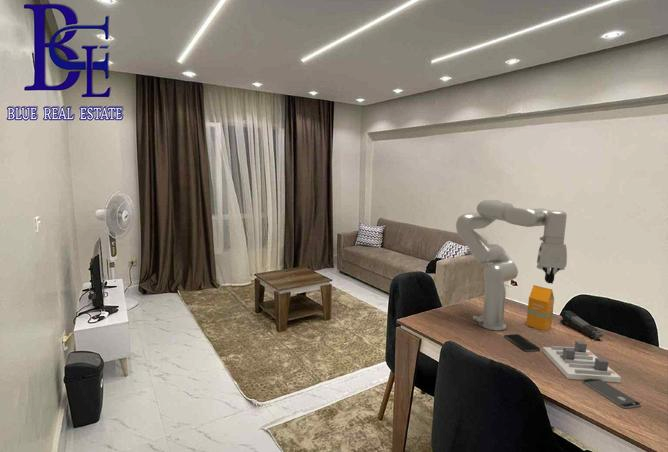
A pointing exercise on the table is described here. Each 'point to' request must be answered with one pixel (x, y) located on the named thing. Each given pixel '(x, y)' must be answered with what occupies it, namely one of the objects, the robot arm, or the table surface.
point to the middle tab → (568, 353)
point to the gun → (580, 324)
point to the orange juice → (540, 308)
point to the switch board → (579, 365)
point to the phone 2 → (611, 393)
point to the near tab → (601, 364)
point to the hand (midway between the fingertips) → (549, 282)
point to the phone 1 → (522, 343)
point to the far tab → (580, 346)
